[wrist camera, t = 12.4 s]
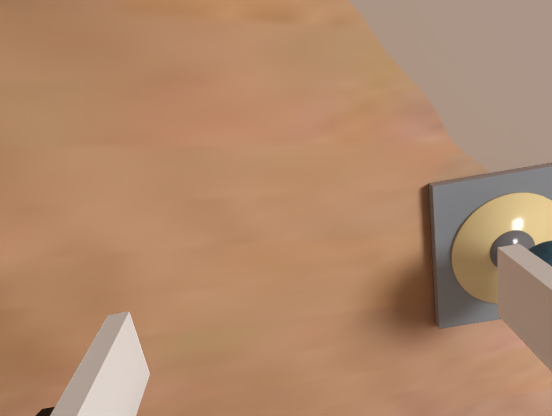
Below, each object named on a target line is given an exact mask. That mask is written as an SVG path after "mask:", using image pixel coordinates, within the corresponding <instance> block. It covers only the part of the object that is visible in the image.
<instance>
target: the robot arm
mask: <svg viewBox="0 0 552 416" xmlns="http://www.w3.org/2000/svg"><path fill="white" fill-rule="evenodd" d="M497 274H498V315H499V316H500V318H501V319H502V320H503V321H504V322H505V323H506V324H507V325H508V326H509V327H510V328H511V329H512V330H513V331H514V332H515V333H516V335H517V336H518V337H519V338H520V339H521V340H522V341H523V342H524V343H525V344H526V345H527V346H528V347H529V348H530V349H531V350H532V351H533V353H534V354H535V355H536V356H537V357H538V358H539V359H540V360H541V361H542V362H543V363H544V364H545V365H546V366H547V367H548V368H549V369H550V371H551V372H552V266H550V265H549V264H547V263H546V262H545V261H543V260H542V259H540V258H539V257H538V256H536V255H535V254H533V253H532V252H530V251H529V250H528V249H526V248H525V247H523V246H522V245H520V244H514V245H508V246H503V247H497ZM149 375H150V373H149V370H148V367H147V364H146V361H145V358H144V355H143V352H142V349H141V346H140V343H139V340H138V337H137V333H136V330H135V327H134V324H133V321H132V318H131V315H130V312H123V313H117V314H112V315H108V316H107V318H106V320H105V321H104V323H103V325H102V326H101V328H100V330H99V332H98V333H97V335H96V337H95V339H94V340H93V342H92V344H91V346H90V347H89V349H88V351H87V352H86V354H85V356H84V358H83V359H82V361H81V363H80V365H79V366H78V368H77V370H76V372H75V373H74V375H73V377H72V378H71V380H70V382H69V384H68V385H67V387H66V389H65V391H64V392H63V394H62V396H61V398H60V399H59V401H58V403H57V404H56V406H55V407H51V408H46V409H42V410H41V411H40V412H39V413H38V414H37V415H36V416H136V414H137V411H138V408H139V405H140V402H141V399H142V396H143V393H144V390H145V387H146V384H147V381H148V378H149Z"/></svg>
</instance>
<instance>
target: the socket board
mask: <svg viewBox="0 0 552 416" xmlns="http://www.w3.org/2000/svg"><path fill="white" fill-rule="evenodd" d="M429 199H430V219H431V239H432V258H433V278H434V298H435V318H436V325H437V326H438V327H439V329H442V328H448V327H454V326H460V325H466V324H472V323H479V322H485V321H491V320H497V319H501V318H500V316H499V315H498V274H497V247H503V246H508V245H514V244H520V245H522V246H523V247H525V248H526V249H530V248H531V247H533V246H535V245H537V244H540V243H542V242H547V241H551V240H552V163H547V164H541V165H535V166H530V167H523V168H517V169H512V170H506V171H500V172H494V173H488V174H482V175H476V176H470V177H464V178H458V179H452V180H446V181H440V182H434V183H429Z"/></svg>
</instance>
